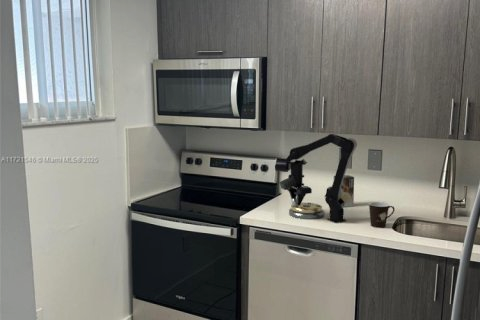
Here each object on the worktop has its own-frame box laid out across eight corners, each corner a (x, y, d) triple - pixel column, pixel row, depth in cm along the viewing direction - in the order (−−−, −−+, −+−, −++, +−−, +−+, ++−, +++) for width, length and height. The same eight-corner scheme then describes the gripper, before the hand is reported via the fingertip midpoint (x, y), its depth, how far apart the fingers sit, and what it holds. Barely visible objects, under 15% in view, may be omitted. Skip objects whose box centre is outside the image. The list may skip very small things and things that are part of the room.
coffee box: (348, 203, 239) (349, 174, 237) (353, 206, 233) (354, 176, 231) (332, 204, 237) (333, 175, 235) (337, 207, 231) (338, 177, 229)
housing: (330, 216, 213) (330, 212, 213) (301, 220, 206) (301, 216, 206) (311, 208, 229) (311, 204, 228) (282, 212, 222) (282, 208, 221)
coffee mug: (369, 228, 195) (370, 206, 193) (367, 222, 203) (368, 201, 202) (396, 229, 193) (397, 207, 191) (393, 224, 201) (394, 202, 200)
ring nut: (316, 205, 226) (316, 194, 225) (326, 213, 211) (326, 201, 210) (287, 206, 223) (287, 195, 222) (295, 214, 209) (296, 202, 208)
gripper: (272, 170, 218) (272, 201, 220) (291, 178, 201) (291, 211, 204) (292, 168, 222) (292, 198, 225) (312, 176, 205) (311, 208, 208)
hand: (296, 204), depth 215 cm, fingers open, 5 cm apart
